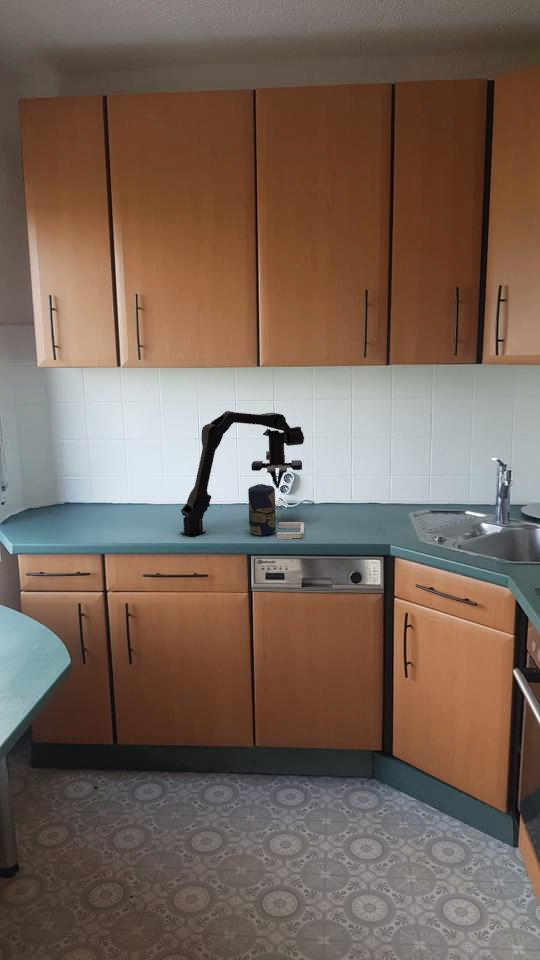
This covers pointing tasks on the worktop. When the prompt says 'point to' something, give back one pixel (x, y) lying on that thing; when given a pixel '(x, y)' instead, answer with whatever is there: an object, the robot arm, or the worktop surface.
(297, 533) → the block
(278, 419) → the robot arm
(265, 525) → the canister
